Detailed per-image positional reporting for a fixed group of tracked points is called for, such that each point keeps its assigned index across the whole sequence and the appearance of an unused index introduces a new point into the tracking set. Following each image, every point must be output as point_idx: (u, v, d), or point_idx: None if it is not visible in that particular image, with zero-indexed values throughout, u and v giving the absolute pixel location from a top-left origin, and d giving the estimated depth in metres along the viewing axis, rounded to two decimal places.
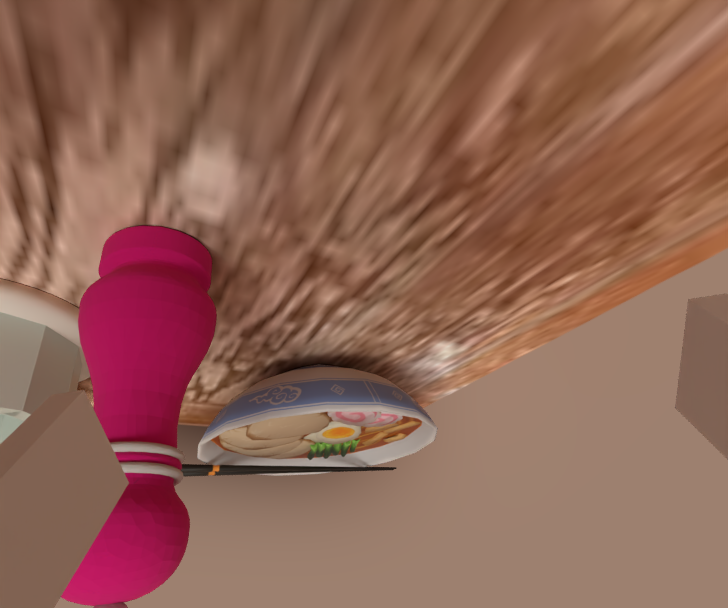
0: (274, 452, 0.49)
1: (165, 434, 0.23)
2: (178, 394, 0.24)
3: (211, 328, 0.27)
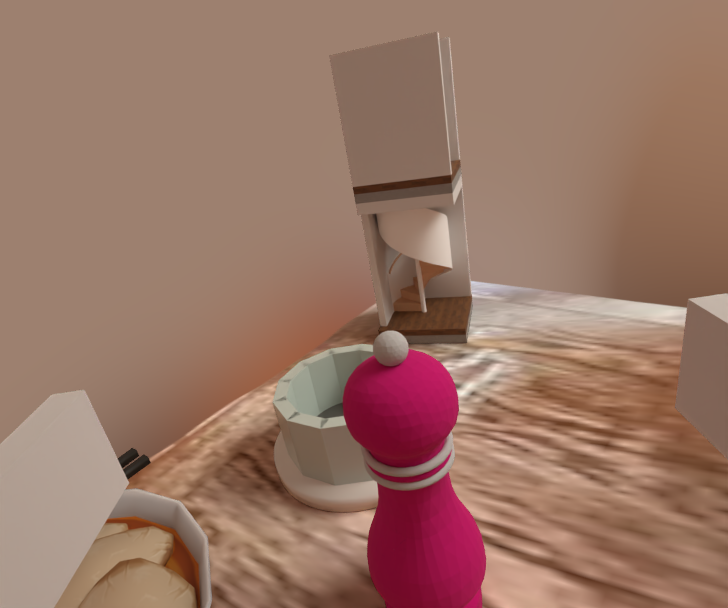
0: None
1: (424, 490, 0.24)
2: (421, 525, 0.25)
3: (422, 598, 0.26)
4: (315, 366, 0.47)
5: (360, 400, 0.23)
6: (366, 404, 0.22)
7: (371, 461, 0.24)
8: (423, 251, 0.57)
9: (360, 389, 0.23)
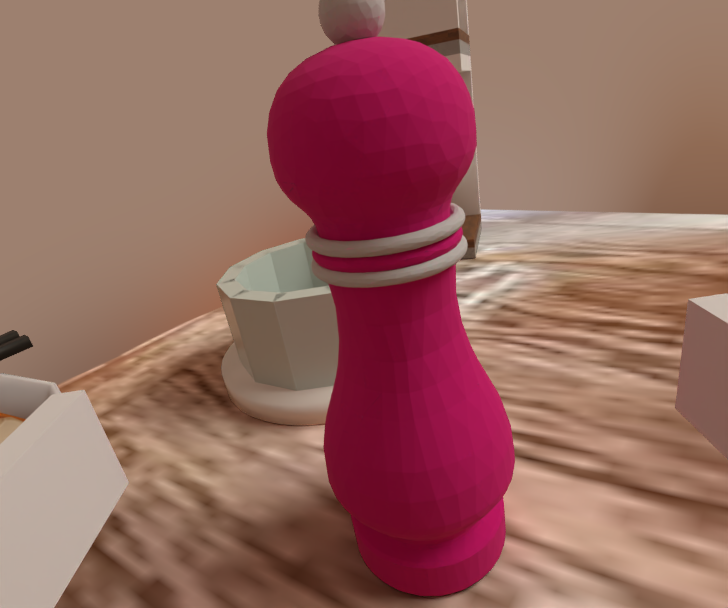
0: None
1: (414, 296, 0.14)
2: (408, 366, 0.14)
3: (408, 498, 0.15)
4: (280, 256, 0.36)
5: (290, 90, 0.12)
6: (300, 90, 0.11)
7: (318, 241, 0.14)
8: None
9: (292, 76, 0.12)
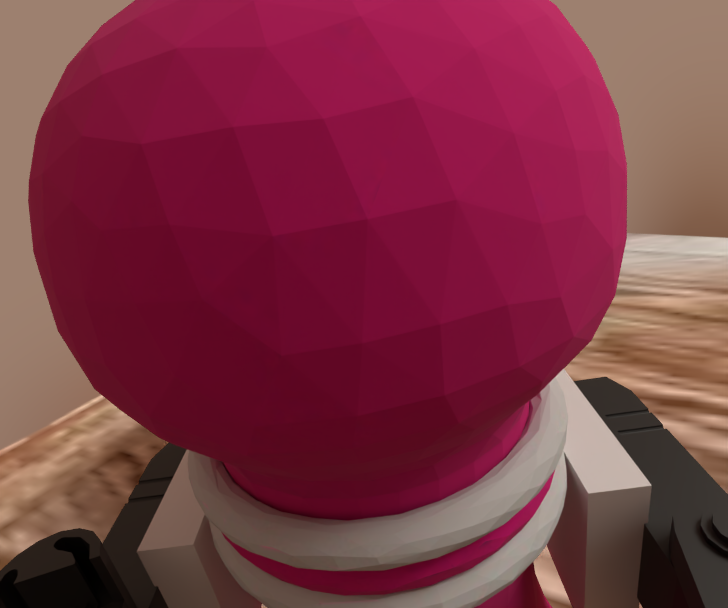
0: None
1: None
2: None
3: None
4: None
5: (50, 104, 0.04)
6: (64, 105, 0.03)
7: (203, 484, 0.05)
8: None
9: None
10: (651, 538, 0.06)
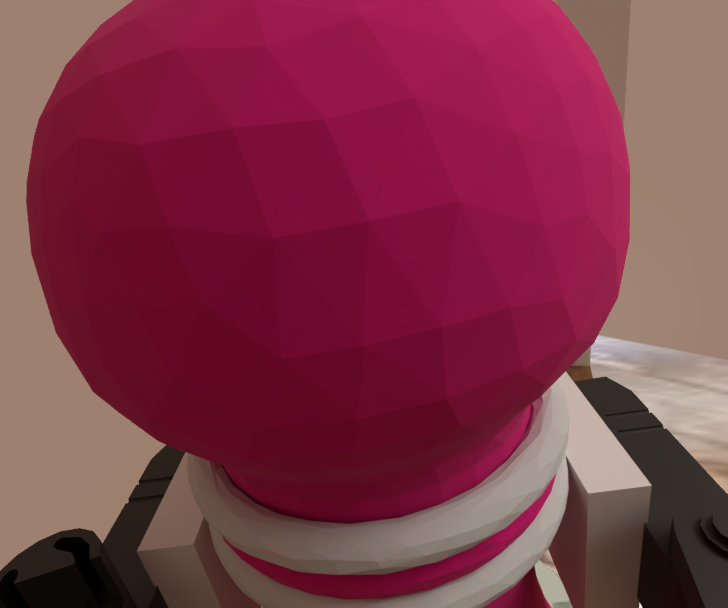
0: None
1: None
2: None
3: None
4: None
5: (48, 105, 0.03)
6: (61, 106, 0.03)
7: (203, 487, 0.05)
8: None
9: None
10: (651, 537, 0.06)
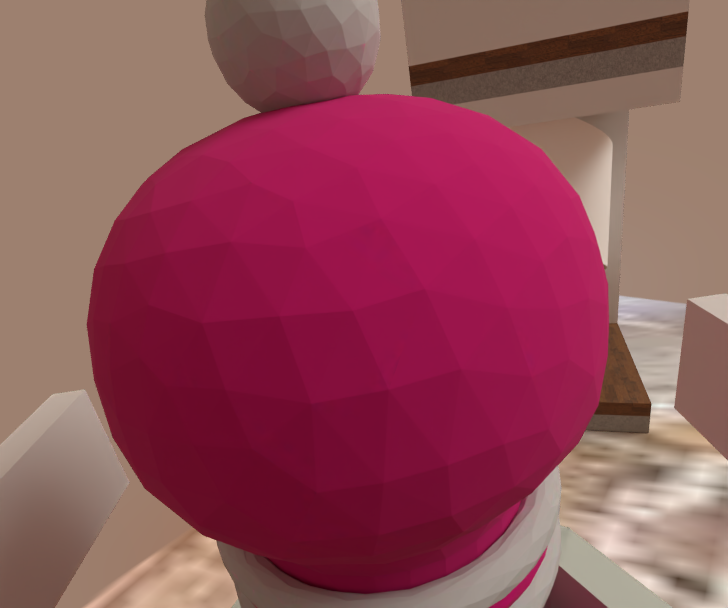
0: None
1: None
2: None
3: None
4: None
5: (113, 256, 0.04)
6: (129, 268, 0.04)
7: (232, 554, 0.06)
8: None
9: (129, 209, 0.04)
10: None
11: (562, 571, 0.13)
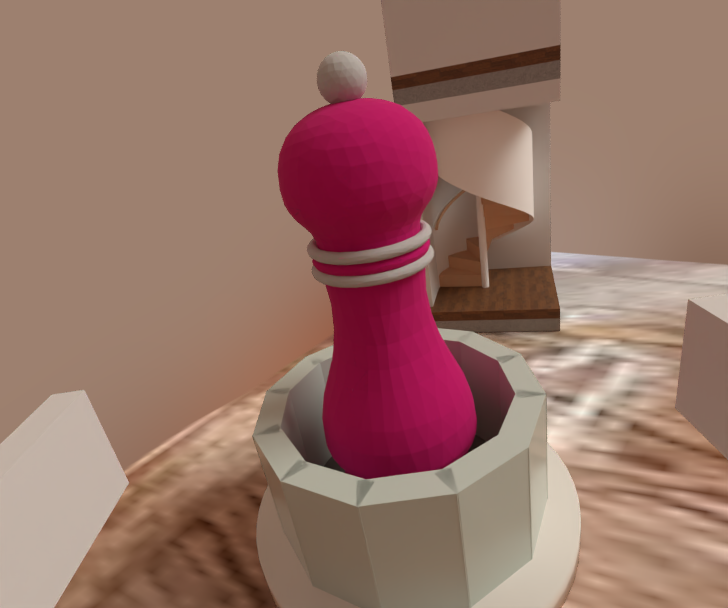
0: None
1: (391, 294, 0.18)
2: (388, 349, 0.18)
3: (389, 452, 0.19)
4: None
5: (296, 141, 0.16)
6: (304, 142, 0.16)
7: (317, 252, 0.18)
8: (498, 186, 0.37)
9: (297, 130, 0.16)
10: None
11: (465, 346, 0.25)
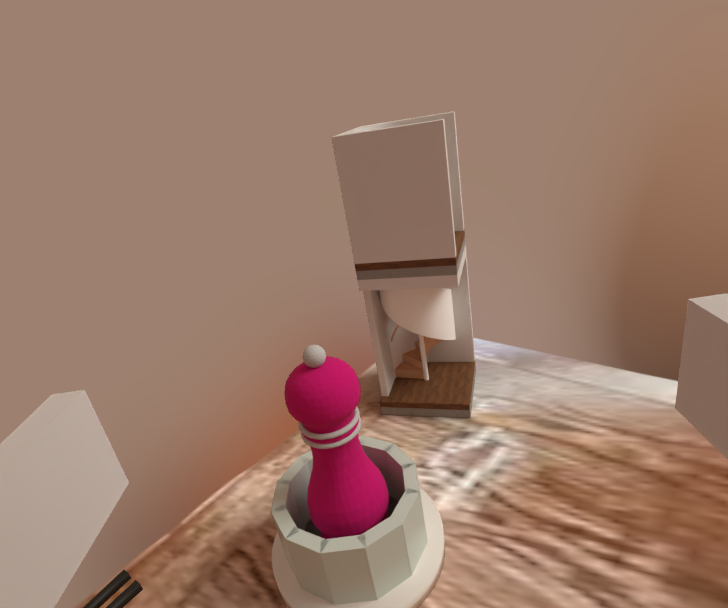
0: None
1: (338, 450, 0.37)
2: (338, 473, 0.38)
3: (338, 523, 0.38)
4: None
5: (293, 389, 0.35)
6: (296, 392, 0.35)
7: (303, 430, 0.37)
8: (426, 327, 0.56)
9: (293, 382, 0.36)
10: None
11: (388, 454, 0.44)
